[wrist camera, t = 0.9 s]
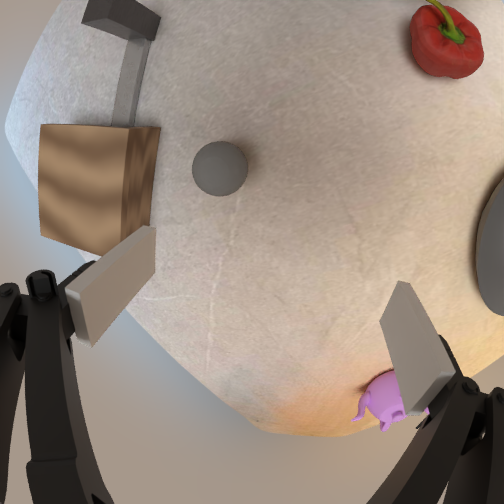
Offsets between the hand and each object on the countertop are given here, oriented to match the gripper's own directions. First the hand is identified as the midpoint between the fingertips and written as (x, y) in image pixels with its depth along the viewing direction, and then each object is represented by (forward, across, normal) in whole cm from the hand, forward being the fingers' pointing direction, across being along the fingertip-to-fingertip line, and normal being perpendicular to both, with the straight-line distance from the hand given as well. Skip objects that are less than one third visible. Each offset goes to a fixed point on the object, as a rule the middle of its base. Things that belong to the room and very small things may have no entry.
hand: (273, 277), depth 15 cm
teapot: (+24, +29, -33) cm, 50 cm away
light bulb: (+25, -8, +2) cm, 26 cm away
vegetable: (+25, +15, +25) cm, 38 cm away
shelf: (+24, -27, -3) cm, 36 cm away
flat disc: (+25, +42, +3) cm, 50 cm away
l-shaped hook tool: (+25, -24, +11) cm, 36 cm away
